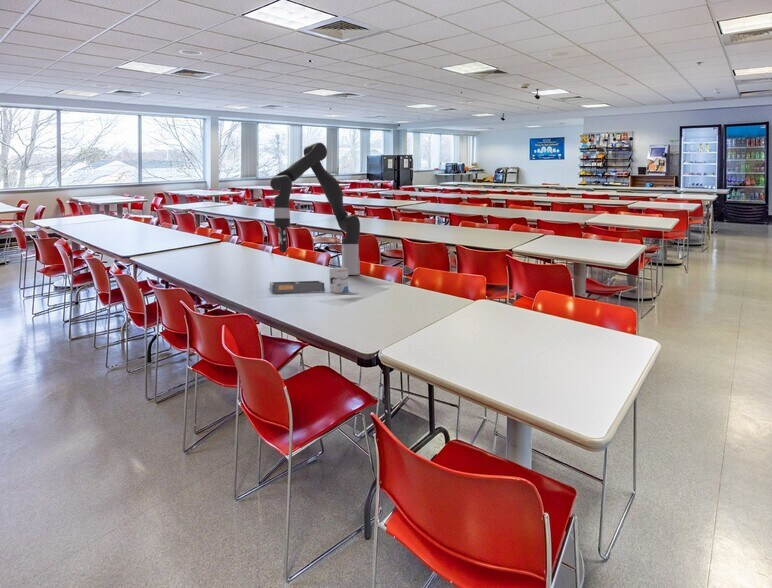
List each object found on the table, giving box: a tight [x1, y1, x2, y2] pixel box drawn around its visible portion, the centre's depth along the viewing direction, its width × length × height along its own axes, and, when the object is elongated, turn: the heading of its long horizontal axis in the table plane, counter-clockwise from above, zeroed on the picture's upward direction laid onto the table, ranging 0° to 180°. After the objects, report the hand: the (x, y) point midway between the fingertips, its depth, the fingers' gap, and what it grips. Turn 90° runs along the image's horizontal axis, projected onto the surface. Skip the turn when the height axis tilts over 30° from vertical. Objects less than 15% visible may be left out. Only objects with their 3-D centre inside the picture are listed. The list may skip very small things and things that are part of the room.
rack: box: [269, 280, 325, 295], centre depth 238 cm, size 25×14×4 cm, turn 109°
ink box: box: [329, 267, 349, 294], centre depth 234 cm, size 8×5×12 cm, turn 140°
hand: (283, 251), depth 234 cm, fingers open, 7 cm apart
